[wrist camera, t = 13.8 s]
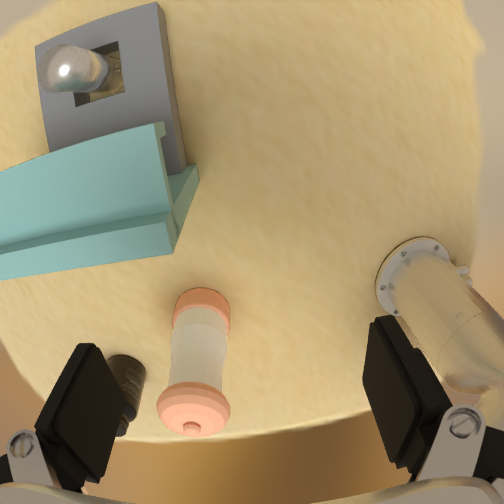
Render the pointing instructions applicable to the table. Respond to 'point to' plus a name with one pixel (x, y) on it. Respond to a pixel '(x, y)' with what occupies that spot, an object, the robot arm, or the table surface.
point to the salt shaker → (197, 365)
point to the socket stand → (102, 161)
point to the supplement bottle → (128, 387)
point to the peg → (79, 71)
